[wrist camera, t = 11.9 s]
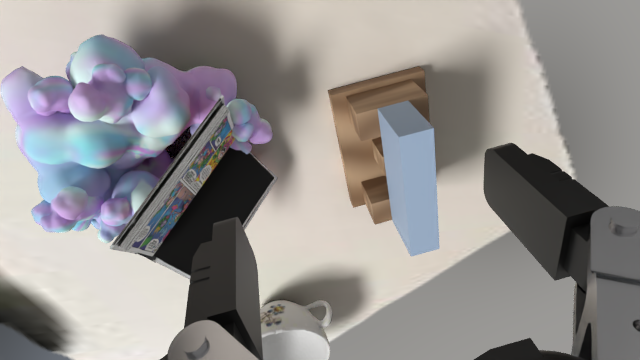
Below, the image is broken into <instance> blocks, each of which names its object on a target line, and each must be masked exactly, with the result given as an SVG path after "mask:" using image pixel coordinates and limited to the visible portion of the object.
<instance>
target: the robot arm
mask: <svg viewBox="0 0 640 360" xmlns="http://www.w3.org/2000/svg"><path fill="white" fill-rule="evenodd" d="M484 194H485V198H486V200H487V202H488V204H489V206H490V207H491V208H492V209H493V211H494V212H495V213H496V214H497V215H498V216H499V217H500V219H501V220H502V221H503V222H504V223H505V224H506V225H507V227H508V228H509V229H510V230H511V231H512V232H513V233H514V234H515V236H516V237H517V238H518V239H519V240H520V241H521V242H522V244H523V245H524V246H525V247H526V248H527V249H528V251H529V252H530V253H531V254H532V255H533V256H534V257H535V259H536V260H537V261H538V262H539V263H540V264H541V265H542V267H543V268H544V269H545V270H546V271H547V272H548V273H549V274H550V276H551V277H552V278H553V279H554V280H559V279H562V278H565V277H569V276H571V277H572V278H573V279H574V280H575V281H576V283H575V288H574V310H573V342H572V352H571V355H570V354H566V353H561V352H555V351H544V350H538V348H537V347H536V346H535V344H534V343H533V341H532V340H531V339H530V338H528V339H525V340H521V341H518V342H514V343H511V344H507V345H504V346H501V347H497V348H493V349H490V350H489V351H487V352H485V353H484V354H482V355H481V356H479V357H477V358H476V359H474V360H640V211H638V210H635V209H631V208H627V207H619V206H611V207H609V206H608V205H607V204H605V203H604V202H603V201H601V200H600V199H599V198H598V197H596V196H595V195H594V194H592V193H591V192H589V191H588V190H587V189H586V188H585V187H583V186H582V185H581V184H580V183H578V182H577V181H576V180H574V179H573V180H572V177H571V176H569V175H568V174H567V173H566V172H562V169H560V168H559V167H558V166H557V165H555V164H554V163H553V162H551V161H550V160H548V159H546V158H543V157H540V156H538V155H535V154H533V153H532V154H529V155H527V154H526V153H525V152H524V151H523V150H521V149H520V148H519V147H518V146H516V145H515V144H513V143H508V144H505V145H501V146H497V147H494V148H490V149H487V150H486V152H485V163H484ZM191 272H192V273H191V277H190V285H189V293H188V301H187V309H186V317H185V325H184V329H183V330H182V331H180V332H179V333H178V334H177V336H176V337H175V338H174V340H173V341H172V343H171V345H170V347H169V350H168V354H167V355H166V356H164V357H163V358H162V359H160V360H263V350H262V334H261V319H260V303H259V287H258V271H257V264H256V260H255V256H254V253H253V250H252V248H251V246H250V243H249V241H248V238H247V236H246V234H245V231H244V229H243V226H242V224H241V222H240V220H239V218H238V217H235V218H231V219H227V220H224V221H220V222H216V223H214V224H213V234H212V241H209V242H205V243H201V244H200V246H199V248H198V250H197V251H196V253H195V255H194V256H193V260H192V268H191Z"/></svg>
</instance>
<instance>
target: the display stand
mask: <svg viewBox="0 0 640 360" xmlns="http://www.w3.org/2000/svg"><path fill="white" fill-rule="evenodd" d="M328 93H329V98H330V103H331V108H332V113H333V118H334V122H335V127H336V132H337V137H338V142H339V147H340V152H341V157H342V162H343V167H344V172H345V176H346V181H347V186H348V191H349V196H350V201H351V203H352V206H353V208H354V207H357V206H361V205H365V204H366V206H367V208H368V210H369V212H370V215H371V217H372V219H373V221H374V224H378V223H382V222H386V221H389V220H392V215H391V208H390V200H389V192H388V185H387V177H386V169H385V162H384V154H383V147H382V139H381V131H380V124H379V116H378V108H381V107H385V106H389V105H393V104H396V103H400V102H404V101H409V102H410V103H411V104H412V105H413V106H414V107H415V108H416V109H417V110H418V112H419V113H420V114H421V115H422V116H423V117H424V118H425V119H426V120H427V121H428V122H429V105H428V95H427V94H426V89H425V71H424V70H423V69H422V68H421V67H419V66H418V67H414V68H411V69H407V70H403V71H399V72H395V73H392V74H388V75H384V76H380V77H377V78H373V79H369V80H365V81H362V82H358V83H354V84H350V85H346V86H343V87H339V88H335V89H331V90H328Z"/></svg>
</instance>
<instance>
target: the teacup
mask: <svg viewBox="0 0 640 360" xmlns="http://www.w3.org/2000/svg"><path fill="white" fill-rule="evenodd" d="M318 306H324V307H326V316H325V317H324V319H323V320H318V319H317V318H315V317H314V316H313V315H312V314H311V313H310V311H309V310H310V309H312V308H315V307H318ZM260 319H261V334H262V350H263V360H328V359H329V353H330V345H329V342H328V339H327V336H326V334H325V332H324V330H323V327H327V326H328V325H329V324H330V323H331V319H332V310H331V306H330V304H329V303H328V302H326V301H323V300H318V301H315V302H313V303H311V304H309V305H307V306H301V305H298V304H296V303H293V302H290V301H287V300H276V301H273V302H269V303H267V304H266V305H264V306H263V307H262V308H261V309H260Z"/></svg>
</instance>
